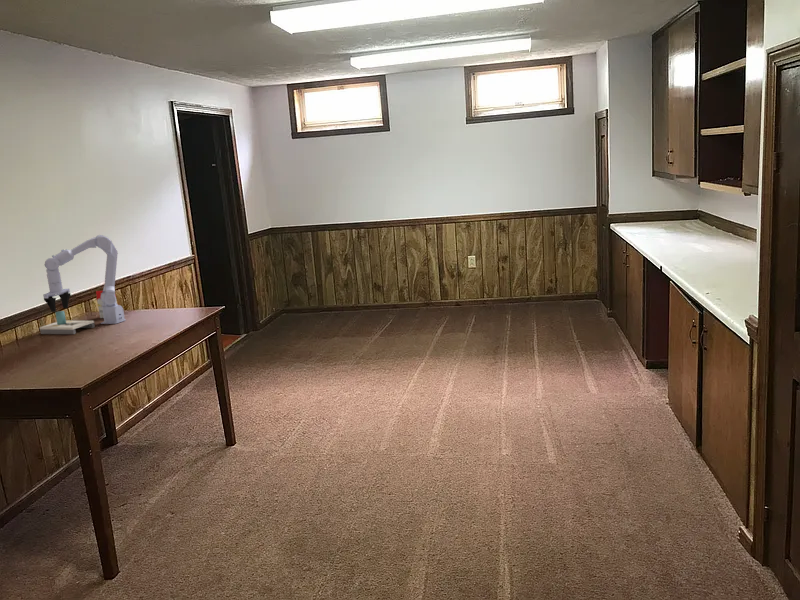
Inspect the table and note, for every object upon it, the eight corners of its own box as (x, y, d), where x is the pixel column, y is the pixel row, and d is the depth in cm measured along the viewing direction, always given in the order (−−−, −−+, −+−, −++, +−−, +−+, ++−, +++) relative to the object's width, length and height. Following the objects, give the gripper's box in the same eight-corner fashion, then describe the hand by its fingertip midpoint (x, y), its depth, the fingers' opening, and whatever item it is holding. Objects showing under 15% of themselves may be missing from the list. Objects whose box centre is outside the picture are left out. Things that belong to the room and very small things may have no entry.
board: (94, 327, 339) (93, 320, 339) (73, 334, 326) (72, 327, 326) (62, 326, 346) (61, 320, 345) (40, 333, 333) (39, 327, 332)
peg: (69, 329, 338) (66, 310, 336) (62, 331, 334) (59, 312, 332) (63, 329, 340) (60, 310, 338) (56, 331, 336) (52, 312, 334)
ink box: (119, 315, 365) (115, 288, 362) (114, 317, 360) (110, 290, 357) (104, 316, 366) (100, 289, 363) (99, 318, 361) (95, 291, 358)
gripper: (59, 280, 340) (64, 306, 343) (36, 285, 327) (41, 313, 330) (71, 279, 338) (75, 306, 341) (48, 285, 325) (53, 313, 327)
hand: (59, 309), depth 335 cm, fingers open, 7 cm apart
